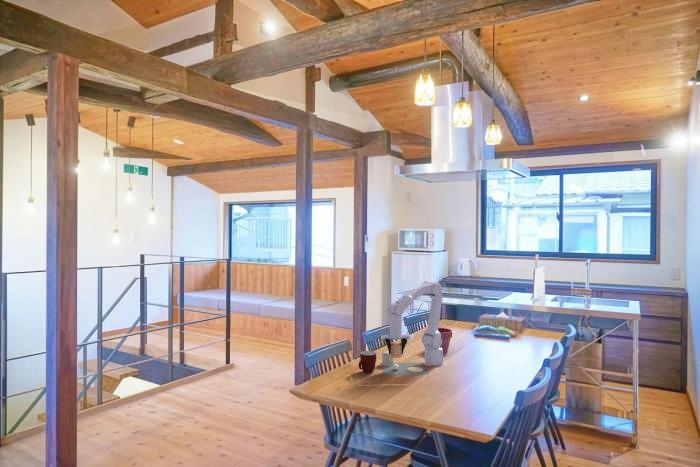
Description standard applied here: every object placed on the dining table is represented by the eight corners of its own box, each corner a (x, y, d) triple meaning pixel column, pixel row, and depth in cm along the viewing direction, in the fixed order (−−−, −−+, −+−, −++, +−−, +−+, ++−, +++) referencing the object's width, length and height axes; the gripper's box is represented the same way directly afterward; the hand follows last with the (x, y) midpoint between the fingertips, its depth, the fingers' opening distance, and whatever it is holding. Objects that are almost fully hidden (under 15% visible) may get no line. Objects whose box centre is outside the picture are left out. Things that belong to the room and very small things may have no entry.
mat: (420, 363, 242) (420, 362, 242) (429, 375, 222) (429, 374, 222) (379, 364, 241) (379, 362, 241) (384, 376, 221) (384, 375, 221)
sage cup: (391, 363, 240) (391, 351, 240) (393, 366, 235) (393, 353, 235) (381, 363, 240) (381, 351, 240) (382, 366, 234) (382, 354, 234)
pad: (421, 367, 233) (421, 366, 233) (424, 372, 225) (424, 371, 225) (406, 367, 233) (406, 366, 233) (408, 372, 225) (408, 371, 225)
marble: (398, 369, 230) (398, 363, 230) (399, 370, 227) (399, 364, 227) (392, 369, 230) (392, 363, 230) (393, 371, 227) (393, 365, 227)
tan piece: (400, 354, 232) (400, 342, 231) (402, 357, 226) (402, 344, 226) (389, 354, 231) (389, 342, 231) (391, 357, 226) (391, 345, 226)
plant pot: (450, 348, 273) (450, 327, 273) (453, 355, 259) (453, 332, 259) (426, 347, 274) (426, 326, 274) (428, 354, 260) (428, 332, 260)
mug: (367, 377, 218) (367, 357, 218) (353, 374, 223) (354, 354, 223) (379, 372, 226) (379, 352, 226) (366, 369, 231) (366, 350, 231)
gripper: (382, 328, 224) (382, 356, 224) (411, 328, 225) (411, 355, 225) (380, 325, 231) (380, 352, 231) (408, 325, 232) (408, 351, 232)
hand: (395, 353), depth 229 cm, fingers closed on tan piece, 6 cm apart
